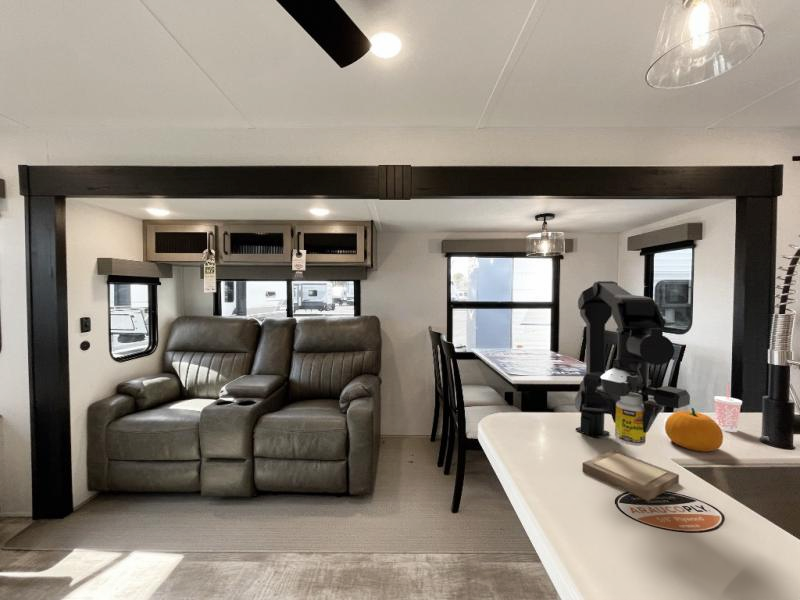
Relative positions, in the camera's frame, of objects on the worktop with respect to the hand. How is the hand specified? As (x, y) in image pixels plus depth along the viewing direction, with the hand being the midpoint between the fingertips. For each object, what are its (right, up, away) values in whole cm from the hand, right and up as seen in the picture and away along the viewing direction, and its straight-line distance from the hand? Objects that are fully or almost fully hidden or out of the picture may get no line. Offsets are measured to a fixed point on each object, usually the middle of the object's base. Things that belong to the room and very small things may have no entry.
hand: (630, 427), depth 75 cm
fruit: (+27, -11, +16) cm, 34 cm away
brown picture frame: (0, -11, 0) cm, 11 cm away
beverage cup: (+48, -11, +29) cm, 57 cm away
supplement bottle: (0, -3, 0) cm, 3 cm away
